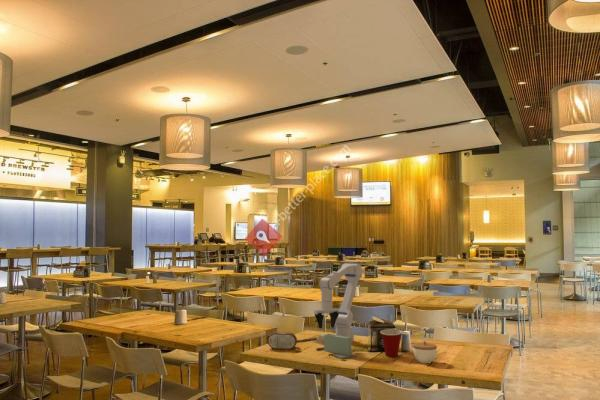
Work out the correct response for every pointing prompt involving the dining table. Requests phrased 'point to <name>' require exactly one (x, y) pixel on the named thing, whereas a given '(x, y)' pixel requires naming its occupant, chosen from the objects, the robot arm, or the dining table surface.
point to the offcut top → (321, 336)
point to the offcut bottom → (319, 340)
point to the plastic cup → (391, 341)
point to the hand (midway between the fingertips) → (326, 327)
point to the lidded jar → (424, 352)
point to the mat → (342, 356)
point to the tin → (282, 340)
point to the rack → (313, 341)
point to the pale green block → (338, 344)
